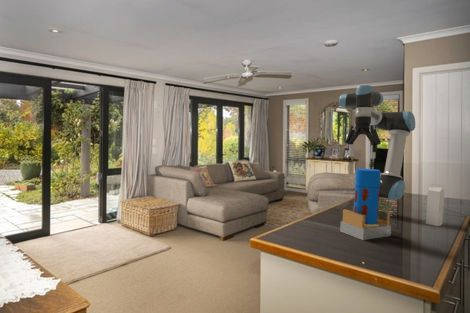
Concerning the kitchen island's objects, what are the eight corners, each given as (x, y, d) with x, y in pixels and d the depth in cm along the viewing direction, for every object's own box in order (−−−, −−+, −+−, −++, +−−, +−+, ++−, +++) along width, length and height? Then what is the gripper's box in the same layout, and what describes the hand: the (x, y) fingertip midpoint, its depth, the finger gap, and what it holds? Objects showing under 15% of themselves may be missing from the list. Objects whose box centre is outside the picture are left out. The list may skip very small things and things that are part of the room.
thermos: (375, 225, 143) (378, 171, 141) (351, 222, 148) (353, 169, 147) (379, 220, 152) (381, 169, 151) (355, 217, 158) (358, 168, 156)
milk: (437, 226, 167) (440, 185, 166) (425, 223, 172) (428, 184, 170) (442, 224, 171) (445, 184, 169) (430, 222, 176) (432, 183, 174)
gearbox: (340, 231, 153) (341, 209, 152) (366, 227, 161) (367, 206, 160) (362, 240, 140) (364, 215, 140) (390, 235, 148) (392, 212, 147)
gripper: (339, 117, 169) (338, 156, 171) (379, 114, 147) (377, 159, 149) (349, 117, 173) (348, 155, 175) (389, 115, 151) (387, 159, 152)
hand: (361, 157), depth 162 cm, fingers open, 13 cm apart
